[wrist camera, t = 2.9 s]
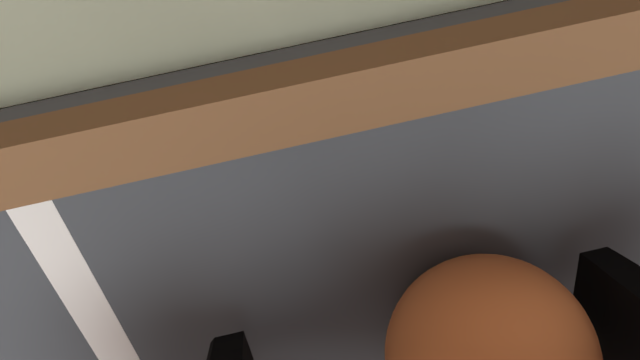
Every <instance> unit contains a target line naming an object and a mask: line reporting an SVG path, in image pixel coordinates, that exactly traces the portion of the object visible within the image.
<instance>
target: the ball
mask: <svg viewBox="0 0 640 360" xmlns="http://www.w3.org/2000/svg"><path fill="white" fill-rule="evenodd" d="M385 360H603V355H602V351H601V347H600V343H599V340H598V336H597V334H596V331H595V329H594V326H593V324H592V323H591V321H590V319H589V317H588V315H587V313H586V311H585V310H584V308H583V307H582V306H581V304H580V303H579V301H578V300H577V299H576V298H575V297H574V295H573V294H572V293H571V292H570V291H569V290H568V289H567V288H566V287H565V286H563V285H562V284H561V283H560V282H559V281H558V280H556V279H555V278H554V277H552V276H551V275H550V274H548V273H547V272H545V271H543V270H542V269H540V268H538V267H536V266H534V265H532V264H530V263H528V262H525V261H523V260H520V259H516V258H513V257H509V256H504V255H498V254H470V255H464V256H459V257H456V258H452V259H449V260H446V261H444V262H442V263H440V264H438V265H436V266H434V267H432V268H430V269H429V270H427V271H426V272H424V273H423V274H422V275H421V276H419V277H418V278H417V279H416V280H415V281H414V282H413V283H412V284H411V285H410V286H409V287H408V288H407V289H406V291H405V292H404V294H403V295H402V297H401V298H400V300H399V301H398V303H397V305H396V307H395V309H394V311H393V313H392V316H391V319H390V322H389V325H388V328H387V333H386V340H385Z"/></svg>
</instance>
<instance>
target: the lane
mask: <svg viewBox="0 0 640 360" xmlns="http://www.w3.org/2000/svg"><path fill="white" fill-rule="evenodd" d="M603 247H609V248H611V249H612V250H614V251H616V252H618V253H619V254H621V255H623V256H624V257H626V258H628V259H629V260H631V261H633V262H634V263H636V264H638V265H639V266H640V0H509V1H504V2H499V3H495V4H490V5H485V6H481V7H476V8H471V9H466V10H462V11H457V12H452V13H448V14H443V15H438V16H434V17H429V18H424V19H420V20H415V21H410V22H406V23H401V24H396V25H392V26H387V27H382V28H378V29H373V30H368V31H363V32H359V33H354V34H349V35H345V36H340V37H335V38H331V39H326V40H321V41H317V42H312V43H307V44H303V45H298V46H293V47H289V48H284V49H279V50H275V51H270V52H265V53H260V54H256V55H251V56H246V57H242V58H237V59H232V60H228V61H223V62H218V63H214V64H209V65H204V66H200V67H195V68H190V69H186V70H181V71H176V72H172V73H167V74H162V75H157V76H153V77H148V78H143V79H139V80H134V81H129V82H125V83H120V84H115V85H111V86H106V87H101V88H97V89H92V90H87V91H83V92H78V93H73V94H69V95H64V96H59V97H54V98H50V99H45V100H40V101H36V102H31V103H26V104H22V105H17V106H12V107H8V108H3V109H0V360H206V359H207V355H208V351H209V347H210V342H211V341H212V340H213V339H214V338H215V337H219V336H223V335H228V334H232V333H236V332H241V331H244V333H245V336H246V339H247V342H248V344H249V347H250V350H251V353H252V356H253V359H254V360H385V340H386V333H387V328H388V325H389V322H390V319H391V316H392V313H393V311H394V309H395V307H396V305H397V303H398V301H399V300H400V298H401V297H402V295H403V294H404V292H405V291H406V289H407V288H408V287H409V286H410V285H411V284H412V283H413V282H414V281H415V280H416V279H417V278H418V277H419V276H421V275H422V274H423V273H424V272H426V271H427V270H429V269H430V268H432V267H434V266H436V265H438V264H440V263H442V262H444V261H446V260H449V259H452V258H456V257H459V256H464V255H470V254H498V255H504V256H509V257H513V258H516V259H520V260H523V261H525V262H528V263H530V264H532V265H534V266H536V267H538V268H540V269H542V270H543V271H545V272H547V273H548V274H550V275H551V276H552V277H554V278H555V279H556V280H558V281H559V282H560V283H561V284H562V285H563V286H565V287H566V288H567V289H568V290H569V291H570V292H571V293H572V294H573V292H574V285H575V279H576V273H577V267H578V260H579V254H580V253H582V252H586V251H591V250H595V249H599V248H603Z"/></svg>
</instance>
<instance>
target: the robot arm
mask: <svg viewBox="0 0 640 360" xmlns="http://www.w3.org/2000/svg"><path fill="white" fill-rule="evenodd" d="M573 295H574V297H575V298H576V299H577V300H578V301H579V303H580V304H581V306H582V307H583V308H584V310H585V311H586V313H587V315H588V317H589V319H590V321H591V323H592V324H593V326H594V329H595V331H596V334H597V336H598V340H599V343H600V347H601V351H602V355H603V360H640V266H639V265H638V264H636V263H634V262H633V261H631V260H629V259H628V258H626V257H624V256H623V255H621V254H619V253H618V252H616V251H614V250H612V249H611V248H609V247H603V248H599V249H595V250H591V251H586V252H582V253H580V254H579V260H578V267H577V273H576V279H575V285H574V292H573ZM206 360H254V359H253V356H252V353H251V350H250V347H249V344H248V342H247V339H246V336H245V333H244V331H241V332H236V333H232V334H228V335H223V336H219V337H215V338H214V339H213V340H212V341H211V342H210V347H209V351H208V355H207V359H206Z"/></svg>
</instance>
